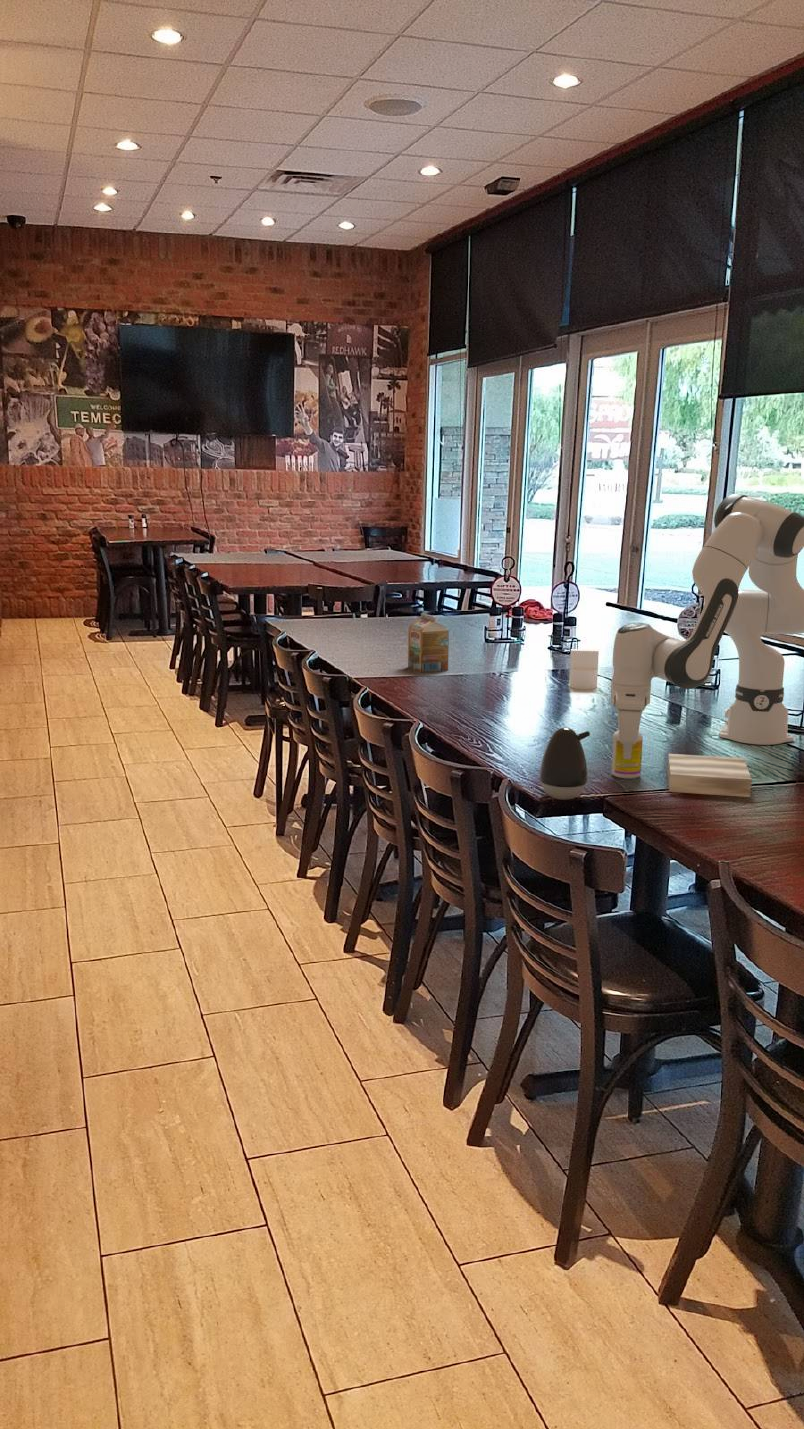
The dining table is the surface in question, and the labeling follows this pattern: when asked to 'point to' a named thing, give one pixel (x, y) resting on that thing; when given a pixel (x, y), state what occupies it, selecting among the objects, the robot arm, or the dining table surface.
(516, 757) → the dining table surface
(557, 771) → the pump dispenser
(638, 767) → the supplement bottle
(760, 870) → the dining table surface
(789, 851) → the dining table surface
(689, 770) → the birch plinth
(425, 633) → the milk carton
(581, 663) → the base with upright slab
